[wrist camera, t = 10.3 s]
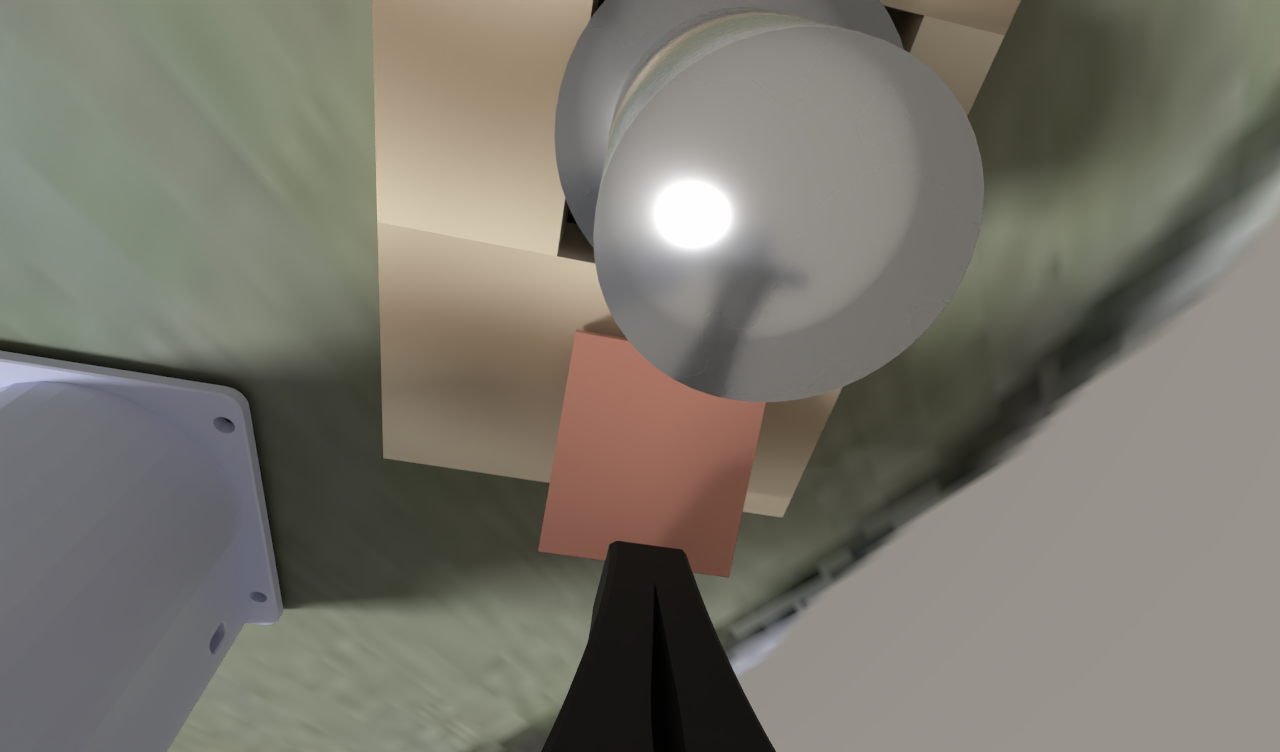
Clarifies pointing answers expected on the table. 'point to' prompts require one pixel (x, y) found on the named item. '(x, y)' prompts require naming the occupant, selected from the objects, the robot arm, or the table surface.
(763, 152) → the silver knob
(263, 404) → the table surface
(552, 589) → the table surface
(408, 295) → the hitch block
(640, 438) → the latch tab
